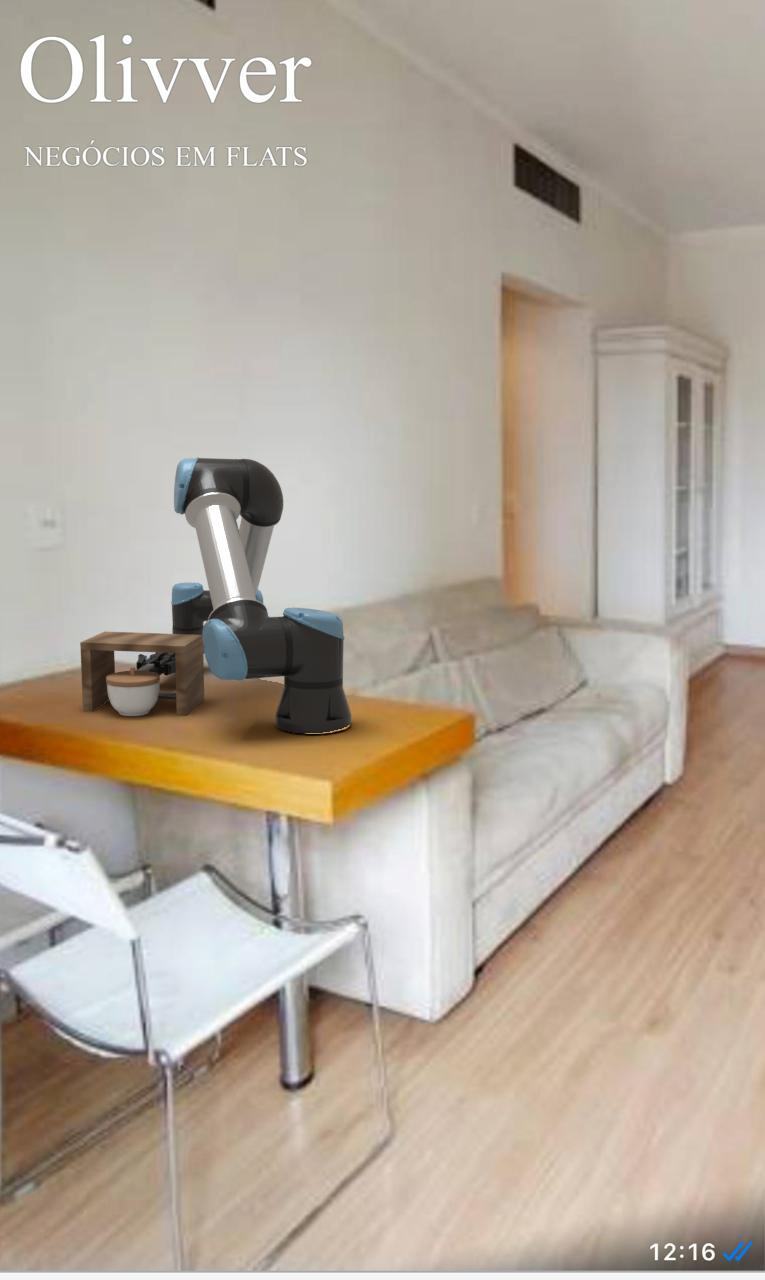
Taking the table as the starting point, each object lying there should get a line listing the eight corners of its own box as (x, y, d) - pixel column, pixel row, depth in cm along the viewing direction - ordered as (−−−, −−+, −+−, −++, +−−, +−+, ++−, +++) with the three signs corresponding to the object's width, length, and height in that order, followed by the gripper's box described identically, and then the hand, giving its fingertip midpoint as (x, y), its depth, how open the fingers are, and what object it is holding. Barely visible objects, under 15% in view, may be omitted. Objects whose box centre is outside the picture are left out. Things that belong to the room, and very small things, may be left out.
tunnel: (204, 700, 210) (203, 635, 208) (186, 715, 198) (184, 646, 195) (107, 696, 212) (104, 631, 210) (83, 710, 200) (80, 642, 197)
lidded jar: (147, 720, 193) (146, 675, 191) (98, 717, 195) (96, 672, 193) (168, 707, 203) (167, 664, 202) (121, 704, 205) (120, 661, 204)
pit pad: (200, 695, 214) (200, 693, 214) (195, 699, 211) (195, 698, 210) (122, 692, 216) (122, 690, 216) (115, 696, 212) (115, 694, 212)
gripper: (203, 671, 227) (170, 694, 204) (149, 669, 228) (111, 692, 205) (202, 640, 225) (169, 660, 202) (148, 638, 227) (109, 657, 204)
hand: (140, 676), depth 204 cm, fingers closed
